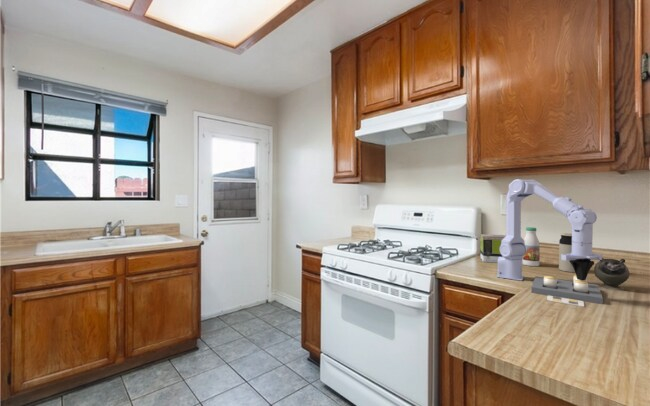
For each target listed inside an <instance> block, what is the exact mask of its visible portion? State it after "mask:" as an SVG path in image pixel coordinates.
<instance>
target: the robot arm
mask: <svg viewBox="0 0 650 406" xmlns="http://www.w3.org/2000/svg"><path fill="white" fill-rule="evenodd" d="M531 195H537V196H538V197H539V198H541V199H543V200H545V201H546V202H548V203H550V204H551V205H552V209H554V210H555V211H557V212H558V213H560V214H561V215H563V216H564V217H566V218H567V220H568V222H569V223H570V225H571V234H572V253H570V254H561V260H565V261H568V260H569V262H570V263H571V264H572V266H573V268H574V270H575V272H574V273H575V275H576V277H577V279H579V280H582V281H583V280H586V278H587V277H588V274H589V273H590V270H591V268H592V267H594V266H595V260H599V261H600V260H602V258H603V254H600V253H593V234H594V233H593V228H594V227H593V226H594V225H593V224H595V223H596V221H597V217H598V216H597V214H596V212H595V211H593V210H592V209H591V208H584V206H583V205H581V204H578V203H576V202H574V201H572V200H573V199H572V198H571V197H570V196H569V197H566V196H558V195H557V194H556V193H554V192H553V191H551V190H550V189H549V188H547V187H545V185H543V184H542V183H541V182H538V181H537V180H536V179H519V178H517V179H514V180H512V182H510V183H509V184H508V191H507V194H506V197H505V198H506V202H505V203H506V204H505V205H506V207H505V208H506V209H505V210H506V212H505V213H506V216H505V217H506V218H505V219H506V221H505V222H506V223H505V225H506V226H505V227H506V228H505V229H506V230H505V231H506V233H505V235H506V237H505V238H504V239H502V241H501V246H500V253H501V255H502V257H498V263H497V270H496V271H497V274H496V277H497V278H502V279H508V280H514V281H523V280H524V278H525V276H524V275H523V264H522V258H523V256H524V255H525V254H526V252H527V249H526V246H525V241H524V240H523V239H524V238H522V236H521V234H522V233H521V230H522V229H521V228H522V227H521V225H522V221H521V220H522V215H521V214H522V211H521V210H522V209H521V208H522V205H521V204H522V201H523V200H524V199H526V198H527V197H529V196H531Z"/></svg>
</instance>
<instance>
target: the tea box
mask: <svg viewBox="0 0 650 406" xmlns="http://www.w3.org/2000/svg"><path fill="white" fill-rule="evenodd" d="M505 237H506V234H484V233H483V234H482V233H481V234H480V237H479V239H480V243H479V244H480V246H479V247H480V254H479V255H480V256H479V257H480V260H481V259H482V260H481V261H482V262H483V263H494V264H495V263H496V264H498V257H502V255H501V253H500V246H501V241H502V239H504V238H505Z"/></svg>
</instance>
